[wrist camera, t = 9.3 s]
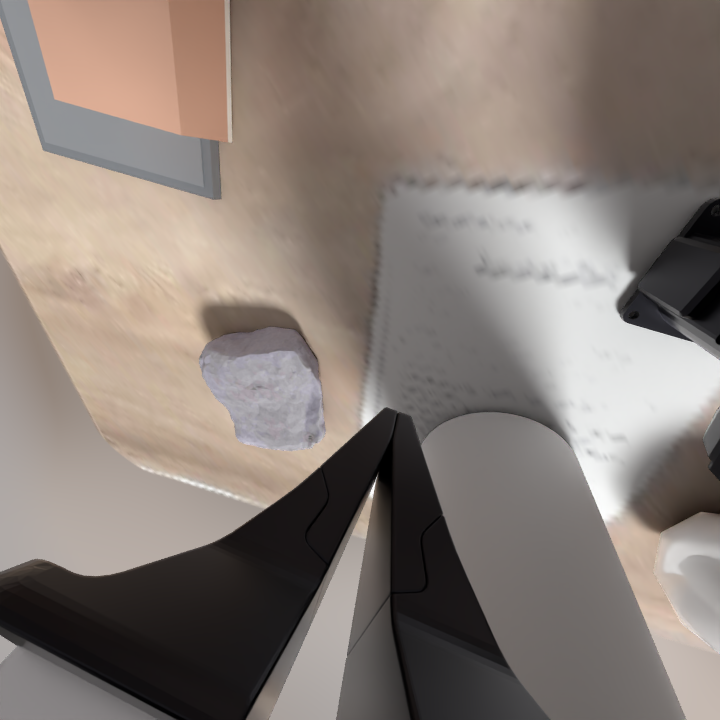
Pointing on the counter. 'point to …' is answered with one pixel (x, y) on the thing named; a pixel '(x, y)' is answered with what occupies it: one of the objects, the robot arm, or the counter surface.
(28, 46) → the slate board
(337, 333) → the counter surface
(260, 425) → the stone block
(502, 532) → the cylinder vase
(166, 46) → the salmon orange block
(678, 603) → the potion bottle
